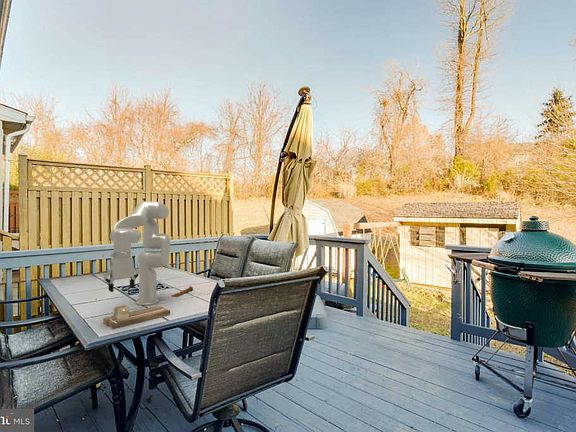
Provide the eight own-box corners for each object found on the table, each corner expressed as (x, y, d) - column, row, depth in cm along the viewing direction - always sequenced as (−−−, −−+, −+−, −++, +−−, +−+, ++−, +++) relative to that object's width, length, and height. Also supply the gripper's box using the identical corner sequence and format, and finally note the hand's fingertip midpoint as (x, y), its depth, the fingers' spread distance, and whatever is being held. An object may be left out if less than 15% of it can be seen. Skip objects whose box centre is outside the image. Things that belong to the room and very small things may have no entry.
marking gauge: (112, 318, 155) (112, 306, 155) (122, 316, 159) (122, 304, 159) (119, 322, 150) (119, 309, 150) (129, 319, 154) (130, 307, 154)
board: (103, 323, 156) (103, 318, 156) (158, 310, 178) (158, 305, 178) (113, 329, 148) (113, 323, 148) (170, 314, 171) (170, 310, 171)
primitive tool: (177, 298, 206) (177, 292, 206) (170, 297, 208) (170, 292, 208) (193, 291, 224) (193, 286, 224) (187, 290, 226) (187, 285, 226)
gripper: (106, 257, 145) (106, 294, 146) (143, 254, 159) (142, 287, 159) (100, 256, 150) (99, 291, 151) (136, 252, 164) (135, 285, 164)
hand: (121, 289), depth 155 cm, fingers open, 9 cm apart
